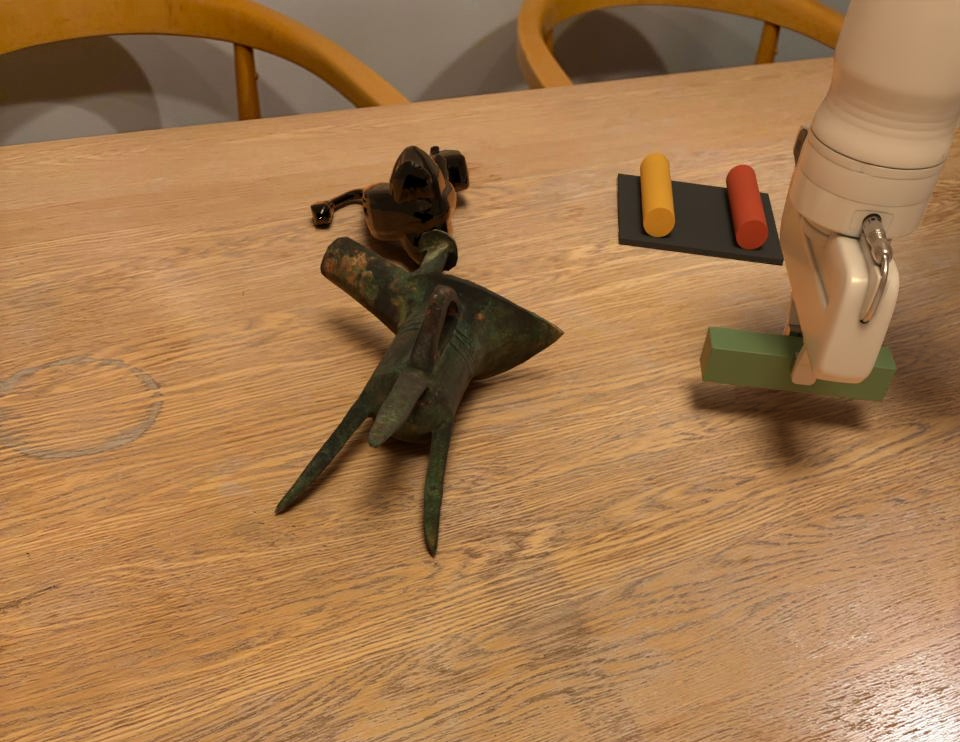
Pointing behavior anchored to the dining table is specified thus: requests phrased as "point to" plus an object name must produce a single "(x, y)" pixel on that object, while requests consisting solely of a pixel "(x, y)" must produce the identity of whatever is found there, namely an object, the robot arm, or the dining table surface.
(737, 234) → the rod stand
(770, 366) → the bar
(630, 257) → the dining table surface
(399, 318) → the vessel
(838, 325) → the robot arm
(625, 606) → the dining table surface
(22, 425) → the dining table surface
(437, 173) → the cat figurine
